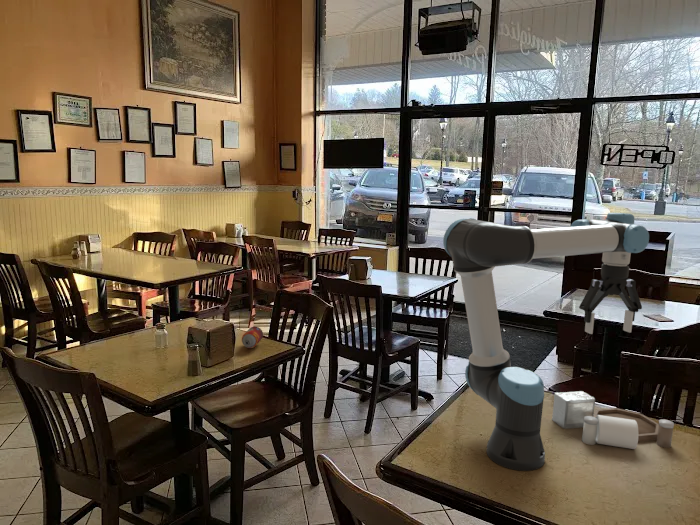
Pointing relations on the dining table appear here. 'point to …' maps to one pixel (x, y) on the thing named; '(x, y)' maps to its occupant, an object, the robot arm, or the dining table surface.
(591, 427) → the salt shaker
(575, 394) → the white box
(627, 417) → the tray
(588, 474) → the dining table surface
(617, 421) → the white cylinder
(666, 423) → the pepper shaker
